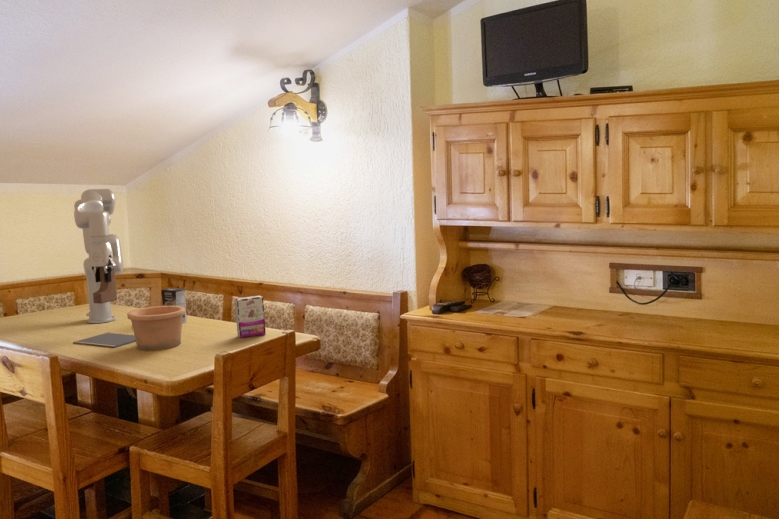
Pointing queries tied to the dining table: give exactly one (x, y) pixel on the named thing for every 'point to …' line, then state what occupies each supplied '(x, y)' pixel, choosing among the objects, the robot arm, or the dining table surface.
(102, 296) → the brown boot
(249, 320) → the candy bar box
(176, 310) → the pottery
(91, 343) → the mat
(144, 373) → the dining table surface
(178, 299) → the coffee box
